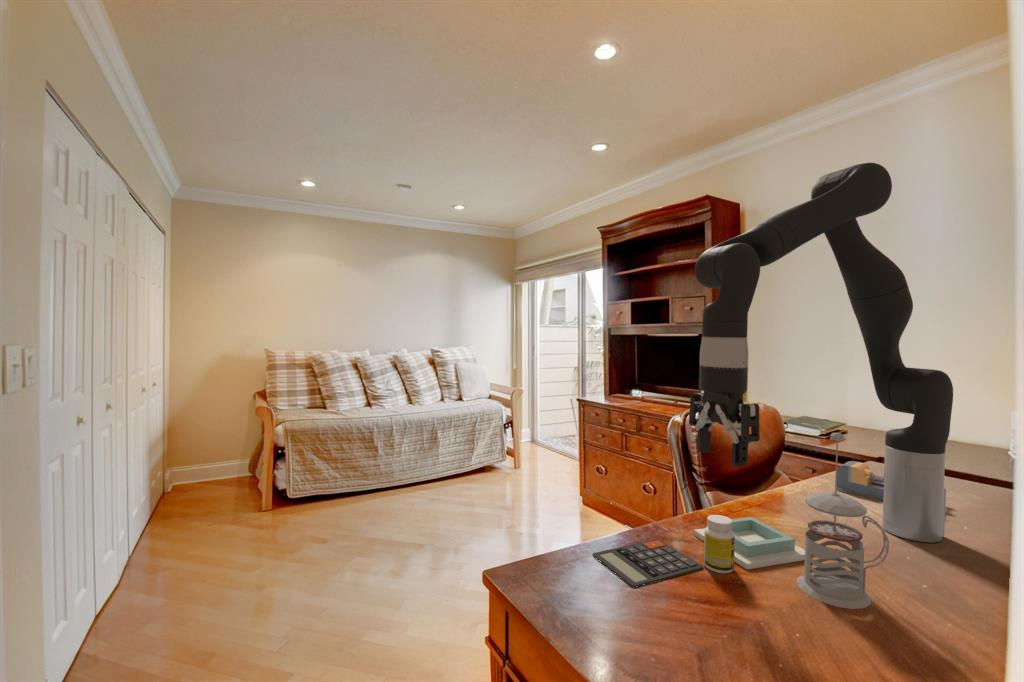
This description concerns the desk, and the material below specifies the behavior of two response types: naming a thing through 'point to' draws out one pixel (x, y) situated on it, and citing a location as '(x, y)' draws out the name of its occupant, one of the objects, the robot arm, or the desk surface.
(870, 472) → the vise
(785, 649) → the desk surface
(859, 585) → the french press
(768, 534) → the dock socket
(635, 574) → the calculator
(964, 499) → the desk surface
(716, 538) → the supplement bottle
